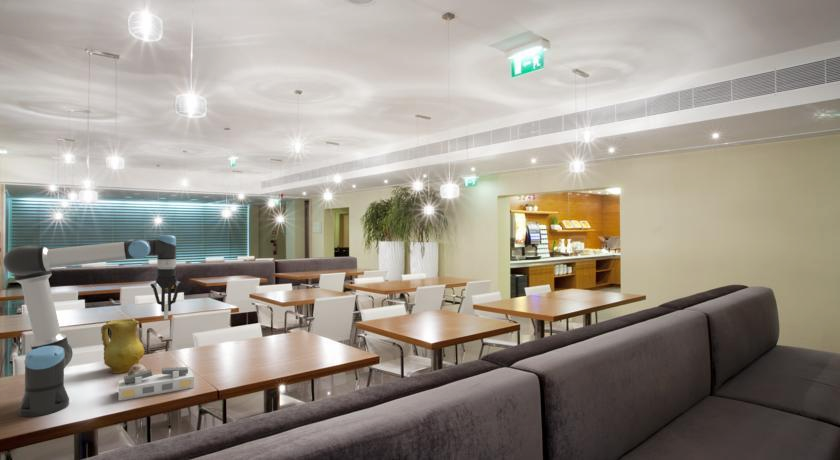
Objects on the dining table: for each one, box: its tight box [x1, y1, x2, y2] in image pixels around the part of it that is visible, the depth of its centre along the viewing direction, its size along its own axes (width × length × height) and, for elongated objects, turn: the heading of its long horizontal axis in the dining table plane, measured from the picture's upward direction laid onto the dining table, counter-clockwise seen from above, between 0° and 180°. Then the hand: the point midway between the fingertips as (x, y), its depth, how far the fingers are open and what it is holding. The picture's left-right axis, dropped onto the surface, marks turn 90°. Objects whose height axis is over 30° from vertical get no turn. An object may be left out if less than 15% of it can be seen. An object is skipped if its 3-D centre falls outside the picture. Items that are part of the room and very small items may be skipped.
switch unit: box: [118, 368, 195, 401], centre depth 193 cm, size 28×12×8 cm, turn 125°
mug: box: [127, 363, 148, 376], centre depth 207 cm, size 8×10×10 cm
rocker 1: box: [123, 369, 153, 384], centre depth 189 cm, size 10×5×2 cm, turn 124°
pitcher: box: [100, 318, 145, 374], centre depth 221 cm, size 17×19×25 cm
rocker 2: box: [161, 366, 189, 374], centre depth 197 cm, size 10×5×2 cm, turn 125°
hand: (166, 318), depth 204 cm, fingers closed
